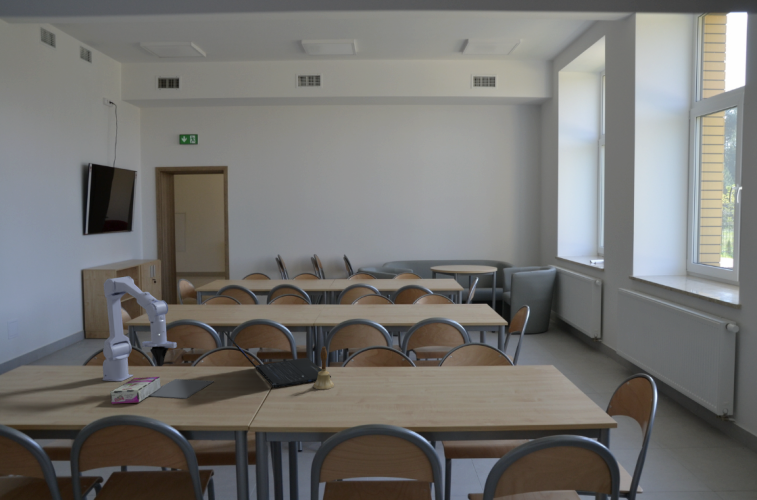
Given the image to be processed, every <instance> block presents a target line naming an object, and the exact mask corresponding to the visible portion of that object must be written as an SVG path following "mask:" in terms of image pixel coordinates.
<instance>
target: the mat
mask: <svg viewBox="0 0 757 500" xmlns="http://www.w3.org/2000/svg"><path fill="white" fill-rule="evenodd" d="M213 383H215V380H203V379H200V380H199V379H184V378H183V379H182V378H175V379H173V380H171V381H168V382H167V383H165V384H164V385H161V388H160V389H158V390H157V391H155V392H154V393H152V394H151V395H149V396H148V397H150V398H169V399H180V400H181V399H182V400H186V399H188V398H190V397H191V396H193V395H196V393H198V392H200V391H201V390H203V389H204V388H206V387H208V386H210V385H212V384H213Z"/></svg>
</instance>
